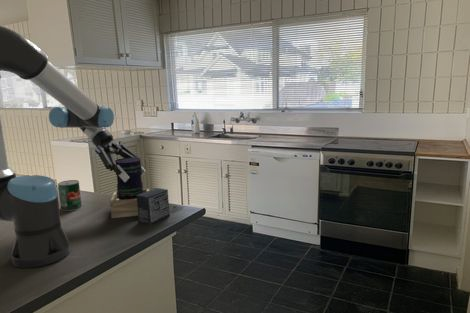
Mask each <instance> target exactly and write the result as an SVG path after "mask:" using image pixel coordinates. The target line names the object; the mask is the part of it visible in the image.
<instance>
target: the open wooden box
mask: <svg viewBox="0 0 470 313" xmlns="http://www.w3.org/2000/svg"><path fill="white" fill-rule="evenodd" d="M149 190H150V188H143V193H144V192H147V191H149ZM109 206H110V214H111V216H110V218H111V219H115V218H125V217H126V218H127V217H138V207H137V199H126V200H120V199H118V192H117V190H115V191H114V192H113V194H112V197H111V199H110V201H109Z"/></svg>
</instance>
